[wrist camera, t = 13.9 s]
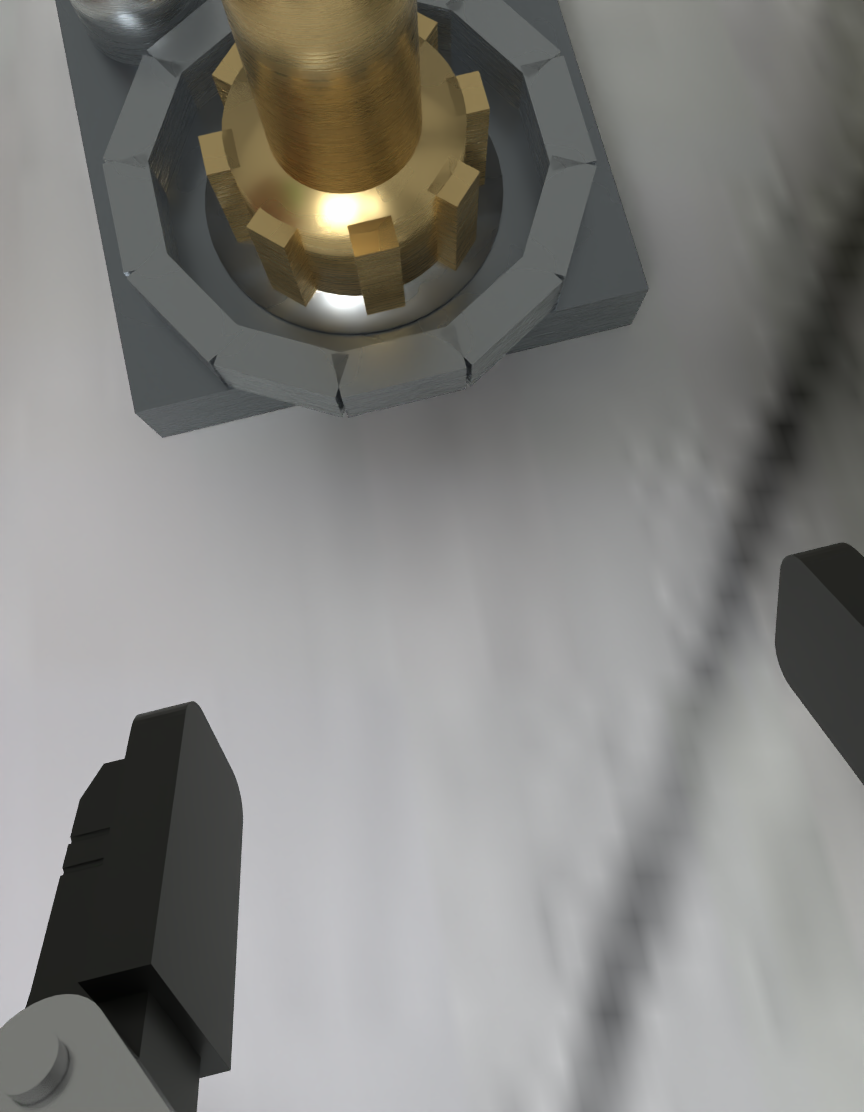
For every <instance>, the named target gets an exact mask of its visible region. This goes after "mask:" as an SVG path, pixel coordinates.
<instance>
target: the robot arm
mask: <svg viewBox="0 0 864 1112" xmlns="http://www.w3.org/2000/svg"><path fill="white" fill-rule="evenodd" d="M775 648H776V654H777V658H778V662H779V665H780V668H781V670H782V673H783V675H784V677H785V679H786V681H787V682H788V684H789V685H790V687H791V688H792V690H793V691H794V692H795V694H796V695H797V696H798V698H799V699H800V700H801V702H802V703H803V704H804V706H805V707H806V708H807V710H808V711H809V712H810V714H811V715H812V716H813V718H814V719H815V720H816V722H817V723H818V724H819V726H820V727H821V728H822V730H823V731H824V732H825V734H826V735H827V736H828V738H829V739H830V740H831V742H832V743H833V744H834V746H835V747H836V748H837V750H838V751H839V752H840V754H841V755H842V756H843V758H844V759H845V761H846V762H847V763H848V765H849V766H850V767H851V769H852V770H853V771H854V773H855V774H856V775H857V777H858V778H859V779H860V781H861V782H862V783H863V785H864V557H863V556H862V555H861V554H860V553H859V552H858V551H857V550H856V549H854V548H853V547H852V546H850V545H849V544H846V543H837V544H833V545H829V546H825V547H821V548H817V549H813V550H809V551H805V552H801V553H797V554H793V555H789V556H787V557H785V558H784V559H783V561H782V564H781V568H780V579H779V593H778V607H777V620H776V634H775ZM242 829H243V810H242V802H241V796H240V791H239V787H238V784H237V780H236V778H235V775H234V773H233V771H232V769H231V767H230V765H229V763H228V761H227V759H226V757H225V755H224V753H223V751H222V749H221V747H220V745H219V743H218V741H217V739H216V737H215V735H214V733H213V731H212V729H211V727H210V725H209V723H208V721H207V719H206V717H205V715H204V713H203V711H202V710H201V708H200V706H199V705H198V704H197V703H196V702H194V701H191V702H187V703H183V704H179V705H175V706H171V707H167V708H163V709H159V710H155V711H151V712H147V713H143V714H139V715H137V716H136V717H135V719H134V721H133V723H132V727H131V732H130V736H129V741H128V746H127V751H126V755H125V759H122V760H118V761H114V762H109V763H105V764H103V766H102V767H101V769H100V770H99V772H98V773H97V775H96V776H95V778H94V779H93V781H92V782H91V784H90V785H89V787H88V788H87V790H86V791H85V793H84V794H83V796H82V797H81V799H80V801H79V805H78V809H77V813H76V817H75V821H74V825H73V829H72V833H71V836H70V837H71V841H72V842H71V844H68V848H67V852H66V856H65V860H64V864H63V871H64V874H63V875H62V876H60V879H59V883H58V887H57V891H56V895H55V899H54V903H53V907H52V911H51V914H50V918H49V922H48V926H47V930H46V934H45V938H44V942H43V946H42V949H41V953H40V957H39V961H38V965H37V969H36V973H35V977H34V981H33V985H32V988H31V992H30V995H29V999H28V1002H27V1005H26V1007H25V1009H24V1010H22V1011H20V1012H19V1013H18V1014H17V1015H15V1016H14V1017H13V1018H11V1019H10V1020H9V1021H8V1022H7V1023H6V1024H5V1025H4V1026H3V1027H2V1028H0V1112H197V1100H198V1087H199V1078H202V1077H206V1076H210V1075H214V1074H218V1073H222V1072H225V1071H229V1070H231V1051H232V1031H233V1011H234V990H235V970H236V950H237V930H238V910H239V890H240V869H241V849H242Z"/></svg>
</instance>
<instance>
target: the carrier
mask: <svg viewBox="0 0 864 1112" xmlns="http://www.w3.org/2000/svg"><path fill="white" fill-rule="evenodd" d="M55 1H56V6H57V11H58V17H59V22H60V27H61V32H62V37H63V43H64V48H65V53H66V58H67V63H68V68H69V74H70V79H71V84H72V89H73V94H74V100H75V105H76V110H77V115H78V120H79V125H80V131H81V136H82V141H83V146H84V151H85V157H86V162H87V167H88V172H89V177H90V182H91V188H92V193H93V198H94V203H95V208H96V214H97V219H98V224H99V229H100V234H101V239H102V245H103V250H104V255H105V260H106V265H107V271H108V276H109V281H110V286H111V291H112V296H113V302H114V307H115V312H116V317H117V322H118V328H119V333H120V338H121V343H122V348H123V353H124V359H125V364H126V369H127V374H128V379H129V385H130V390H131V395H132V400H133V405H134V410H135V413H136V414H137V415H138V416H139V417H140V418H141V419H142V420H144V421H145V422H146V423H147V424H148V425H149V426H150V427H151V428H152V429H153V430H155V431H156V432H157V433H158V434H159V435H160V436H161V437H162V438H163V437H167V436H172V435H176V434H180V433H184V432H188V431H192V430H196V429H200V428H205V427H209V426H213V425H217V424H221V423H225V422H229V421H233V420H238V419H242V418H246V417H250V416H254V415H258V414H262V413H266V412H271V411H275V410H279V409H283V408H287V407H291V406H295V405H299V406H302V407H306V408H310V409H313V410H317V411H321V412H324V413H328V414H332V415H335V416H339V417H343V414H344V411H345V409H346V412H347V415H348V417H353V416H357V415H361V414H365V413H369V412H373V411H377V410H381V409H386V408H390V407H394V406H398V405H402V404H406V403H410V402H414V401H418V400H423V399H427V398H431V397H435V396H439V395H443V394H447V393H451V392H456V391H460V390H464V389H465V387H466V382H467V383H468V384H469V385H470V386H472V385H473V384H474V383H475V382H476V381H477V380H478V379H479V378H480V377H481V376H482V375H483V374H484V373H486V372H487V371H488V370H489V369H490V368H491V367H492V366H493V365H494V364H495V363H496V362H497V361H498V360H500V359H501V358H502V357H503V356H504V355H506V354H510V353H514V352H518V351H522V350H527V349H531V348H535V347H539V346H543V345H547V344H551V343H555V342H560V341H564V340H568V339H572V338H576V337H580V336H584V335H588V334H593V333H597V332H601V331H605V330H609V329H613V328H617V327H621V326H626V325H630V324H631V323H632V321H633V319H634V317H635V315H636V313H637V311H638V309H639V307H640V305H641V303H642V301H643V299H644V297H645V295H646V293H647V291H648V285H647V282H646V279H645V276H644V273H643V270H642V266H641V263H640V260H639V257H638V254H637V251H636V247H635V244H634V241H633V238H632V235H631V232H630V228H629V225H628V222H627V219H626V216H625V213H624V210H623V206H622V203H621V200H620V197H619V194H618V191H617V187H616V184H615V181H614V178H613V175H612V172H611V168H610V165H609V162H608V159H607V156H606V153H605V149H604V146H603V143H602V140H601V137H600V134H599V131H598V127H597V124H596V121H595V118H594V115H593V112H592V108H591V105H590V102H589V99H588V96H587V93H586V89H585V86H584V83H583V80H582V77H581V74H580V70H579V67H578V64H577V61H576V58H575V55H574V52H573V48H572V45H571V42H570V39H569V36H568V33H567V29H566V26H565V23H564V20H563V17H562V14H561V10H560V7H559V4H558V1H557V0H417V12H418V13H420V14H422V15H424V16H426V17H428V18H430V19H432V20H434V21H436V22H438V52H439V53H440V54H441V56H442V57H443V58H444V59H445V61H446V62H447V63H448V65H449V66H450V67H451V69H452V71H453V73H454V74H455V76H458V75H462V74H467V73H471V72H475V71H479V73H480V76H481V80H482V83H483V87H484V90H485V93H486V97H487V100H488V104H489V107H490V114H489V128H488V142H487V156H486V170H485V184H484V185H480V186H479V197H478V213H477V230H476V241H475V242H474V244H473V245H472V247H471V248H470V250H469V252H468V253H467V255H466V256H465V258H464V259H463V261H462V262H461V264H460V266H459V267H458V269H457V270H456V271H455V270H453V269H451V268H449V267H447V266H445V265H444V264H442V263H440V262H438V261H437V262H436V263H435V264H434V265H433V266H432V267H431V268H430V269H428V270H427V271H426V272H425V273H423V274H422V275H421V276H419V277H418V278H416V279H414V280H413V281H411V282H409V283H407V284H405V285H403V286H404V296H405V305H406V306H404V307H400V308H396V309H392V310H388V311H383V312H379V313H375V314H371V315H367V312H366V308H365V304H364V300H363V296H344V295H336V294H331V293H326V292H323V291H320V290H317V291H316V293H315V294H314V296H313V297H312V299H311V300H310V302H309V303H308V305H307V306H306V307H305V306H303V305H301V304H299V303H298V302H296V301H294V300H292V299H290V298H289V297H287V296H285V295H283V294H282V293H280V292H278V291H276V290H275V289H273V288H272V285H271V283H270V281H269V279H268V276H267V274H266V272H265V269H264V267H263V265H262V262H261V260H260V258H259V255H258V253H257V251H256V248H255V246H254V244H253V241H252V240H248V241H244V242H240V243H238V242H237V239H236V237H235V235H234V233H233V231H232V229H231V226H230V224H229V222H228V220H227V218H226V216H225V214H224V211H223V209H222V207H221V205H220V203H219V201H218V198H217V196H216V194H215V192H214V190H213V188H212V186H211V183H210V181H209V179H208V177H207V174H206V170H205V165H204V161H203V156H202V152H201V147H200V143H199V138H198V136H202V135H206V134H210V133H214V132H219V131H222V117H223V110H224V106H223V103H222V100H221V98H220V95H219V93H218V90H217V87H216V85H215V82H214V80H213V77H212V74H213V72H214V71H215V70H216V68H217V67H218V65H219V64H220V63H221V61H222V60H223V59H224V57H225V56H226V54H227V53H228V52H229V50H230V49H231V47H232V46H233V45H234V43H235V40H234V37H233V34H232V31H231V28H230V25H229V22H228V19H227V16H226V13H225V10H224V7H223V3H222V0H55Z"/></svg>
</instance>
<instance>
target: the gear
mask: <svg viewBox="0 0 864 1112" xmlns="http://www.w3.org/2000/svg"><path fill="white" fill-rule="evenodd" d="M222 3H223V7H224V10H225V13H226V16H227V19H228V22H229V25H230V28H231V31H232V34H233V37H234V40H235V43H234V45H233V46H232V47H231V49H230V50H229V52H228V53H227V54H226V56H225V57H224V59H223V60H222V61H221V63H220V64H219V65H218V67H217V68H216V70H215V71H214V72H213V74H212V77H213V80H214V82H215V85H216V87H217V90H218V93H219V95H220V98H221V100H222V103H223V106H224V110H223V117H222V131H219V132H214V133H210V134H206V135H202V136H198V138H199V143H200V147H201V152H202V156H203V161H204V165H205V170H206V174H207V177H208V179H209V181H210V183H211V186H212V188H213V190H214V192H215V194H216V196H217V198H218V201H219V203H220V205H221V207H222V209H223V211H224V214H225V216H226V218H227V220H228V222H229V224H230V226H231V229H232V231H233V233H234V235H235V237H236V239H237V242H238V243H240V242H244V241H248V240H252V241H253V244H254V246H255V248H256V251H257V253H258V255H259V258H260V260H261V262H262V265H263V267H264V269H265V272H266V274H267V276H268V279H269V281H270V283H271V285H272V288H273V289H275V290H276V291H278V292H280V293H282V294H283V295H285V296H287V297H289V298H290V299H292V300H294V301H296V302H298V303H299V304H301V305H303V306H305V307H306V306H307V305H308V303H309V302H310V300H311V299H312V297H313V296H314V294H315V293H316V291H317V290H320V291H323V292H326V293H331V294H336V295H344V296H363V300H364V304H365V308H366V312H367V315H371V314H375V313H379V312H383V311H388V310H392V309H396V308H400V307H404V306H406V305H405V296H404V286H403V285H405V284H407V283H409V282H411V281H413V280H414V279H416V278H418V277H419V276H421V275H422V274H423V273H425V272H426V271H427V270H428V269H430V268H431V267H432V266H433V265H434V264H435V263H436V262H437V261H438V262H440V263H442V264H444V265H445V266H447V267H449V268H451V269H453V270H455V271H456V270H457V269H458V267H459V266H460V264H461V262H462V261H463V259H464V258H465V256H466V255H467V253H468V252H469V250H470V248H471V247H472V245H473V244H474V242H475V241H476V230H477V213H478V197H479V186H480V185H484V184H485V170H486V156H487V142H488V128H489V114H490V107H489V104H488V100H487V97H486V93H485V90H484V87H483V83H482V80H481V76H480V73H479V71H475V72H471V73H467V74H462V75H458V76H455V74H454V73H453V71H452V69H451V67H450V66H449V65H448V63H447V62H446V61H445V59H444V58H443V57H442V56H441V54H440V53H439V52H438V22H436V21H434V20H432V19H430V18H428V17H426V16H424V15H422V14H420V13H418V12H417V0H222Z"/></svg>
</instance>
